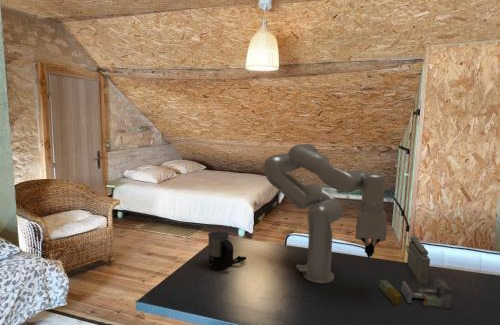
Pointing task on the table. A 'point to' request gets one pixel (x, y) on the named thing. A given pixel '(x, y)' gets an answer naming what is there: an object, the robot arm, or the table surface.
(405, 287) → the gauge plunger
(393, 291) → the medication box
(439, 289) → the grey u-shaped bracket
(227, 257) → the milk frother
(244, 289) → the table surface
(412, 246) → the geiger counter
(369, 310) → the table surface
